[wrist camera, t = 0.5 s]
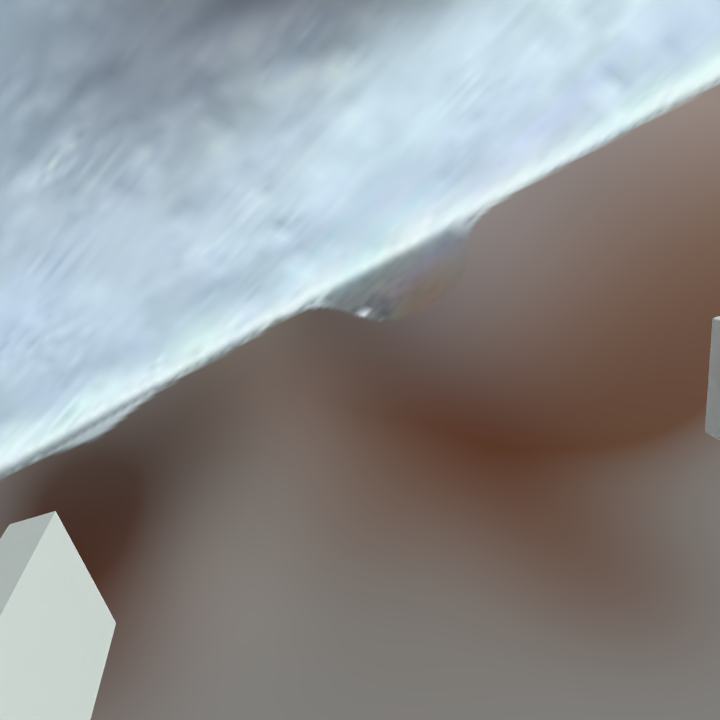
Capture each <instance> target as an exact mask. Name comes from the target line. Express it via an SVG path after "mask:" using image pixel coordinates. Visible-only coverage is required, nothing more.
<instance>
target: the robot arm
mask: <svg viewBox="0 0 720 720" xmlns="http://www.w3.org/2000/svg"><path fill="white" fill-rule="evenodd" d="M712 323H713V324H712V337H711V351H710V367H709V380H708V396H707V410H706V425H705V432H706V433H708V434H710V435H712V436H713V437H715V438H717V439H718V440H720V316H719V317H715V318H713V322H712ZM115 624H116V622H115V620H114V619H113V617H112V615H111V613H110V611H109V609H108V607H107V606H106V604H105V602H104V600H103V598H102V596H101V594H100V593H99V591H98V589H97V587H96V585H95V583H94V581H93V580H92V578H91V576H90V574H89V572H88V571H87V569H86V567H85V565H84V563H83V561H82V559H81V557H80V556H79V554H78V552H77V550H76V548H75V547H74V544H73V543H72V541H71V539H70V537H69V535H68V534H67V532H66V530H65V528H64V526H63V524H62V522H61V520H60V519H59V517H58V515H57V513H56V511H54V512H51V513H47V514H44V515H41V516H37V517H34V518H30V519H27V520H23V521H20V522H17V523H13V524H10V525H9V526H8V528H7V529H6V531H5V532H4V534H3V536H2V537H1V539H0V720H90V718H91V715H92V711H93V707H94V703H95V700H96V696H97V692H98V689H99V685H100V681H101V677H102V673H103V670H104V666H105V662H106V659H107V655H108V651H109V647H110V644H111V640H112V636H113V632H114V628H115Z"/></svg>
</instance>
